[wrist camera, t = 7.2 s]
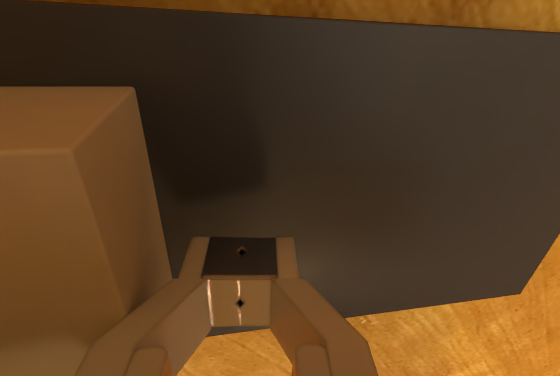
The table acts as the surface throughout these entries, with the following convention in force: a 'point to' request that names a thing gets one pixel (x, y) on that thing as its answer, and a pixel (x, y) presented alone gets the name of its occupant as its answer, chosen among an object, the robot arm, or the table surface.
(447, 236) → the ramp
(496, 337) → the table surface
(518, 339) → the table surface
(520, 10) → the table surface
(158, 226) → the cardboard box
